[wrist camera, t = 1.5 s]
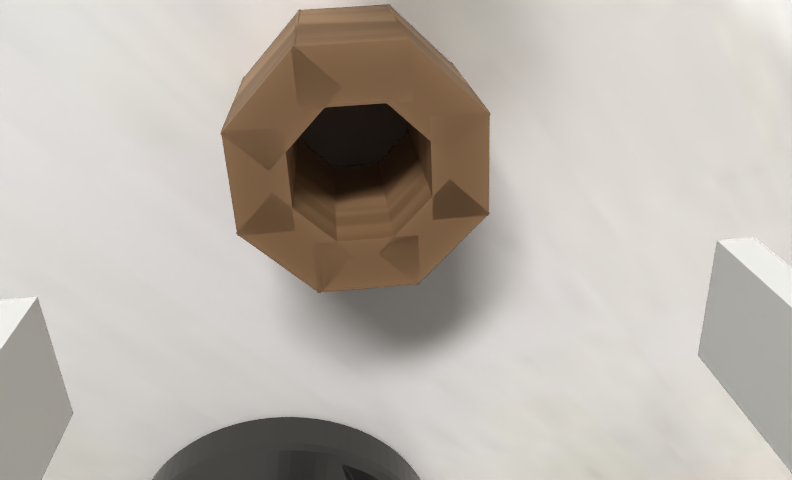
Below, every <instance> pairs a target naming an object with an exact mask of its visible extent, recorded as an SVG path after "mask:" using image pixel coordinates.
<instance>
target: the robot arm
mask: <svg viewBox="0 0 792 480" xmlns="http://www.w3.org/2000/svg"><path fill="white" fill-rule="evenodd" d="M698 356H699V357H700V359H701V360H702V361H703V362H704V364H705V365H706V366H707V367H708V369H709V370H710V371H711V372H712V374H713V375H714V376H715V377H716V379H717V380H718V381H719V383H720V384H721V385H722V386H723V388H724V389H725V390H726V391H727V393H728V394H729V395H730V396H731V398H732V399H733V400H734V401H735V403H736V404H737V405H738V406H739V408H740V409H741V410H742V411H743V413H744V414H745V415H746V416H747V418H748V419H749V420H750V421H751V423H752V424H753V425H754V426H755V428H756V429H757V430H758V431H759V433H760V434H761V435H762V436H763V438H764V439H765V440H766V441H767V443H768V444H769V445H770V447H771V448H772V449H773V450H774V452H775V453H776V454H777V455H778V457H779V458H780V459H781V460H782V462H783V463H784V464H785V465H786V467H787V468H788V469H789V470H790V472H791V473H792V267H790V266H789V265H788V264H787V263H786V262H784V261H783V260H782V259H781V258H779V257H778V256H777V255H776V254H774V253H773V252H772V251H771V250H770V249H768V248H767V247H766V246H765V245H763V244H762V243H761V242H760V241H759V240H757V239H756V238H755V237H750V238H738V239H725V240H717V243H716V249H715V255H714V261H713V267H712V273H711V279H710V285H709V291H708V297H707V303H706V309H705V315H704V321H703V327H702V333H701V339H700V345H699V351H698ZM72 415H73V411H72V408H71V404H70V401H69V398H68V395H67V391H66V388H65V385H64V382H63V378H62V375H61V372H60V369H59V365H58V362H57V359H56V356H55V352H54V349H53V346H52V343H51V339H50V336H49V333H48V330H47V326H46V323H45V320H44V317H43V313H42V310H41V307H40V304H39V300H38V297H28V298H16V299H4V300H0V480H42V478H43V475H44V473H45V471H46V469H47V467H48V465H49V463H50V461H51V459H52V457H53V454H54V452H55V450H56V448H57V446H58V444H59V442H60V440H61V438H62V436H63V434H64V431H65V429H66V427H67V425H68V423H69V421H70V419H71V417H72ZM152 480H420V479H419V478H418V476H417V475H416V473H415V472H414V470H413V469H412V468H411V466H410V465H409V464H408V463H407V462H406V461H405V460H404V459H403V458H402V457H401V456H400V455H399V454H398V453H397V452H395V451H394V450H393V449H391V448H390V447H389V446H387V445H386V444H384V443H383V442H381V441H380V440H378V439H376V438H374V437H372V436H370V435H368V434H366V433H364V432H362V431H359V430H357V429H354V428H351V427H348V426H345V425H342V424H338V423H334V422H330V421H325V420H319V419H311V418H298V417H279V418H266V419H259V420H253V421H248V422H243V423H239V424H235V425H232V426H229V427H225V428H222V429H220V430H217V431H215V432H212V433H210V434H208V435H206V436H204V437H202V438H200V439H198V440H196V441H194V442H193V443H191V444H189V445H188V446H186V447H185V448H183V449H182V450H181V451H179V452H178V453H177V454H175V455H174V456H173V457H172V458H171V459H170V460H169V461H167V462H166V463H165V464H164V466H163V467H162V468H161V469H160V470H159V471H158V472H157V474H156V475H155V476H154V478H153V479H152Z"/></svg>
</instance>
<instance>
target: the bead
mask: <svg viewBox="0 0 792 480" xmlns="http://www.w3.org/2000/svg"><path fill="white" fill-rule="evenodd" d="M381 103H387V104H388V105H389V106H390V107H392V108H393V109H394V110H395V111H396V112H397V113H399V114H400V115H401V116H402V117H403V118H404V119H405V120H407V121H408V132H407V133H406V134H405V135H404V136H403V137H402V138H401V140H400V141H399V142H398V143H397V144H396V145H395V146H394V147H393V148H392V149H391V150H390V151H389V153H388V154H387V155H386V156H385V157H384V158H383V159H382V160H381V161H380V162H379V163H378V164H367V165H354V166H341V167H333V166H332V165H330V164H329V163H328V162H327V161H325V160H324V159H323V158H322V157H320V156H319V155H318V154H317V153H315V152H314V151H313V150H312V149H310V148H309V147H308V146H307V145H305V144H304V143H303V142H302V141H300V140H299V139H298V138H299V137H300V135H301V134H302V133H303V132H304V131H305V130H306V128H307V127H308V126H309V125H310V124H311V123H312V122H313V120H314V119H315V118H316V117H317V116H318V115H319V114H320V112H321V111H322V110H323V109H324V108H325V107H338V106H352V105H367V104H381ZM490 115H491V114H490V112H489V111H488V109H487V108H486V107H485V105H484V104H483V103H482V102H481V100H480V99H479V98H478V96H477V95H476V94H475V92H474V91H473V90H472V88H471V87H470V86H469V84H468V83H467V82H466V81H465V79H464V78H463V77H462V75H461V74H460V73H459V71H458V70H457V69H456V67H455V66H454V65H453V63H451V62H450V61H448V60H447V59H446V58H445V57H444V56H443V55H442V54H441V53H440V52H439V51H438V50H437V49H436V48H435V47H433V46H432V45H431V44H430V43H429V42H428V41H427V40H426V39H425V38H424V37H423V36H422V35H421V34H420V33H419V32H417V31H416V30H415V29H414V28H413V27H412V26H411V25H410V24H409V23H408V22H407V21H406V20H405V19H404V18H402V17H401V16H400V15H399V14H398V13H397V12H396V11H395V10H394V9H393V8H392V7H391V6H390V5H389V4H387V5H375V6H359V7H343V8H326V9H310V10H298V12H297V14H296V15H295V16H294V17H293V18H292V20H291V21H290V22H289V23H288V25H287V26H286V27H285V28H284V29H283V31H282V32H281V33H280V34H279V36H278V37H277V38H276V39H275V40H274V42H273V43H272V44H271V45H270V47H269V48H268V49H267V50H266V51H265V53H264V54H263V55H262V56H261V58H260V59H259V60H258V61H257V63H256V64H255V65H254V66H253V67H252V69H251V70H250V71H249V72H248V74H247V75H246V76H245V77H243V80H242V82H241V85H240V87H239V90H238V92H237V94H236V97H235V99H234V102H233V104H232V106H231V109H230V111H229V114H228V116H227V119H226V121H225V123H224V126H223V128H222V131H221V135H222V140H223V146H224V153H225V159H226V166H227V172H228V178H229V185H230V191H231V197H232V204H233V210H234V216H235V223H236V229H237V233H236V234H237V235H238V236H240V237H242V238H243V239H244V240H246V241H247V242H249V243H250V244H252V245H253V246H254V247H256V248H257V249H259V250H260V251H261V252H263V253H264V254H266V255H267V256H268V257H270V258H271V259H273V260H274V261H275V262H277V263H278V264H280V265H281V266H282V267H284V268H285V269H287V270H288V271H289V272H291V273H292V274H294V275H295V276H296V277H298V278H299V279H301V280H302V281H303V282H305V283H306V284H308V285H309V286H310V287H312V288H313V289H315V290H316V291H317V292H318V293H321V292H331V291H343V290H354V289H366V288H377V287H389V286H400V285H412V284H417V285H418V284H420V282H421V281H422V280H423V279H424V278H425V277H426V276H427V275H428V274H429V273H430V272H431V271H432V270H433V269H434V268H435V267H436V266H437V265H438V264H439V263H440V262H441V261H442V260H443V259H444V258H445V257H446V256H447V255H448V254H449V253H450V252H451V251H452V250H453V249H454V248H455V247H456V246H457V245H458V244H459V243H460V242H461V241H462V240H463V239H464V238H465V237H466V236H467V235H468V234H469V233H470V232H471V231H472V230H473V229H474V228H475V227H476V226H477V225H478V224H479V223H480V222H481V221H482V220H483V219H484V218H485V217H486V216H487V215H489V120H490Z"/></svg>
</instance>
